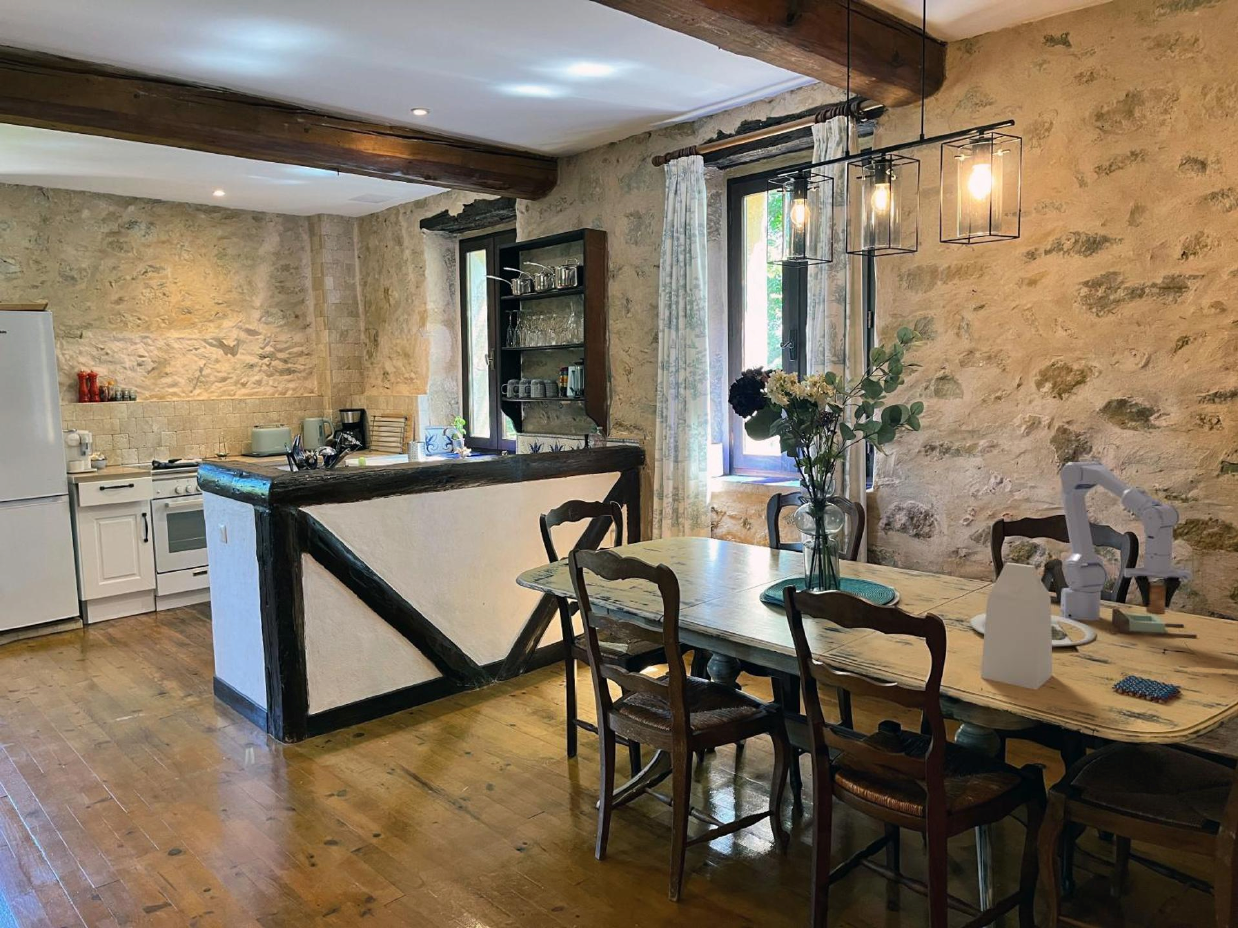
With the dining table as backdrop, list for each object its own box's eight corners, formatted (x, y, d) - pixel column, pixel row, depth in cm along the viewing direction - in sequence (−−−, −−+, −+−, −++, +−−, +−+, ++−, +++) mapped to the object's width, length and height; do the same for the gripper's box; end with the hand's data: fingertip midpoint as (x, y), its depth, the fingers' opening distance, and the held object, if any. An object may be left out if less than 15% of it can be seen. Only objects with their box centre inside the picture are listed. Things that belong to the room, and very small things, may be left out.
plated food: (1079, 621, 240) (1080, 609, 239) (1109, 655, 211) (1110, 642, 211) (964, 615, 248) (964, 603, 247) (977, 647, 219) (978, 634, 219)
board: (1128, 644, 218) (1129, 625, 217) (1111, 626, 233) (1112, 608, 232) (1206, 649, 213) (1207, 629, 212) (1183, 630, 228) (1184, 612, 228)
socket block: (1128, 633, 224) (1129, 621, 223) (1120, 624, 232) (1120, 613, 231) (1164, 635, 221) (1165, 623, 221) (1154, 625, 229) (1155, 614, 229)
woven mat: (1128, 681, 194) (1128, 672, 194) (1182, 694, 186) (1182, 685, 186) (1109, 693, 188) (1109, 684, 187) (1164, 706, 179) (1164, 697, 179)
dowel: (1149, 614, 217) (1150, 586, 216) (1144, 609, 220) (1145, 582, 220) (1167, 614, 215) (1168, 587, 215) (1161, 610, 219) (1163, 583, 219)
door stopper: (1072, 600, 260) (1073, 561, 259) (1064, 604, 256) (1065, 564, 255) (1041, 595, 267) (1042, 556, 265) (1032, 598, 263) (1034, 559, 261)
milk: (1052, 675, 198) (1056, 563, 195) (1036, 689, 189) (1040, 573, 186) (998, 664, 206) (1000, 556, 203) (980, 677, 197) (983, 565, 194)
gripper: (1130, 555, 215) (1128, 608, 216) (1197, 557, 211) (1194, 611, 212) (1122, 549, 221) (1120, 601, 223) (1187, 551, 217) (1184, 604, 219)
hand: (1155, 606), depth 218 cm, fingers closed on dowel, 4 cm apart
